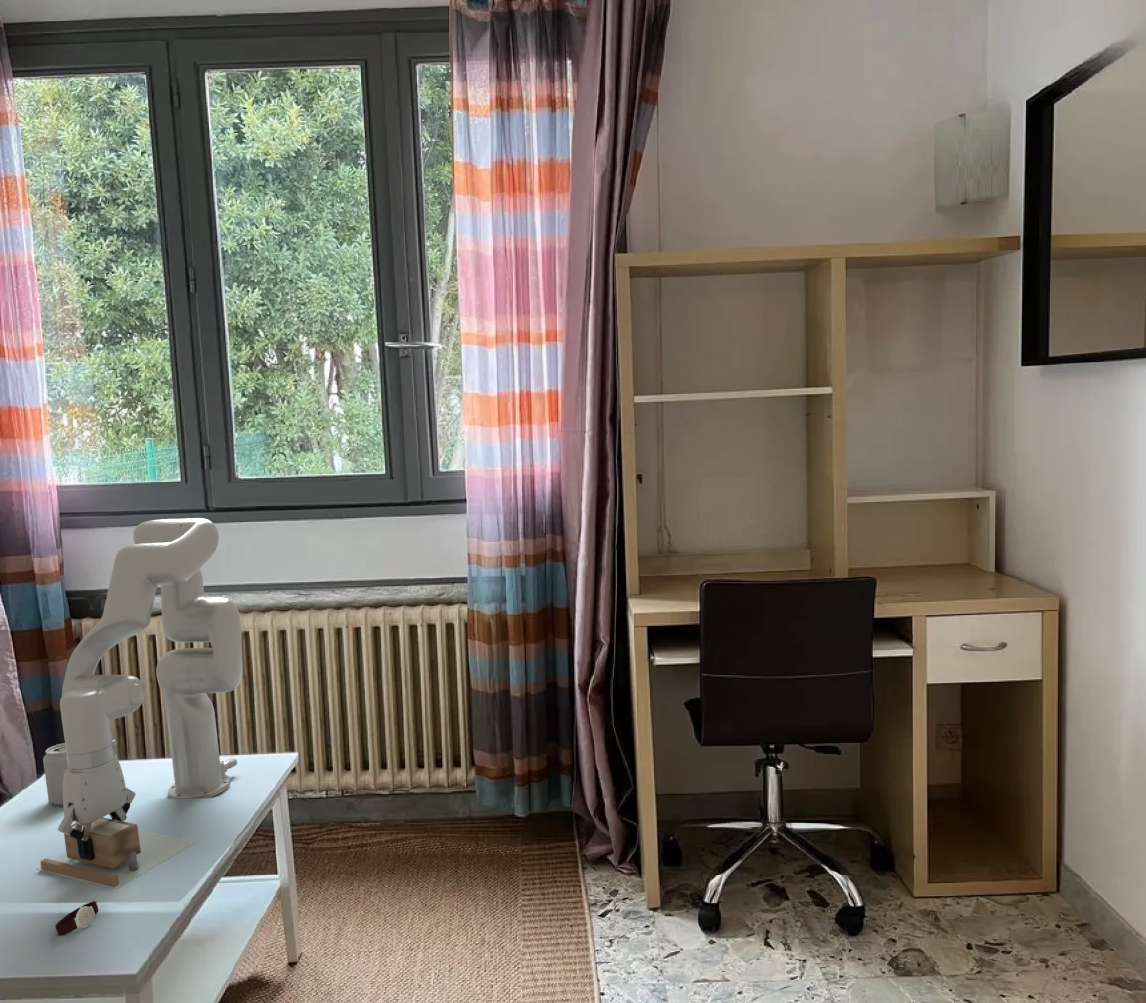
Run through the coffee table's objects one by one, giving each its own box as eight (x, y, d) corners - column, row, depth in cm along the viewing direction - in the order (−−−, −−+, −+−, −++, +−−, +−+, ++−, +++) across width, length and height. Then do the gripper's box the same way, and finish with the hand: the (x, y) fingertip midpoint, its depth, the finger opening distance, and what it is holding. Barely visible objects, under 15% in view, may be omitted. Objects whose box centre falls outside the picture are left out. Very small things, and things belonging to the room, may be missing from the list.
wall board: (120, 831, 191) (117, 811, 190) (197, 847, 182) (195, 826, 181) (37, 875, 175) (34, 853, 174) (117, 895, 166) (114, 872, 165)
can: (80, 789, 213) (74, 738, 211) (93, 798, 207) (86, 745, 206) (44, 801, 207) (37, 748, 206) (55, 811, 202) (48, 756, 201)
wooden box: (95, 842, 181) (92, 814, 180) (140, 852, 175) (137, 824, 175) (67, 857, 175) (63, 829, 174) (112, 868, 170) (109, 839, 169)
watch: (72, 941, 153) (69, 920, 152) (48, 938, 154) (45, 917, 153) (107, 914, 160) (104, 894, 160) (83, 912, 161) (81, 892, 161)
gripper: (116, 736, 182) (128, 826, 184) (32, 772, 167) (46, 869, 169) (144, 741, 179) (156, 831, 181) (61, 778, 163) (75, 877, 166)
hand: (103, 849), depth 175 cm, fingers closed on wooden box, 5 cm apart
